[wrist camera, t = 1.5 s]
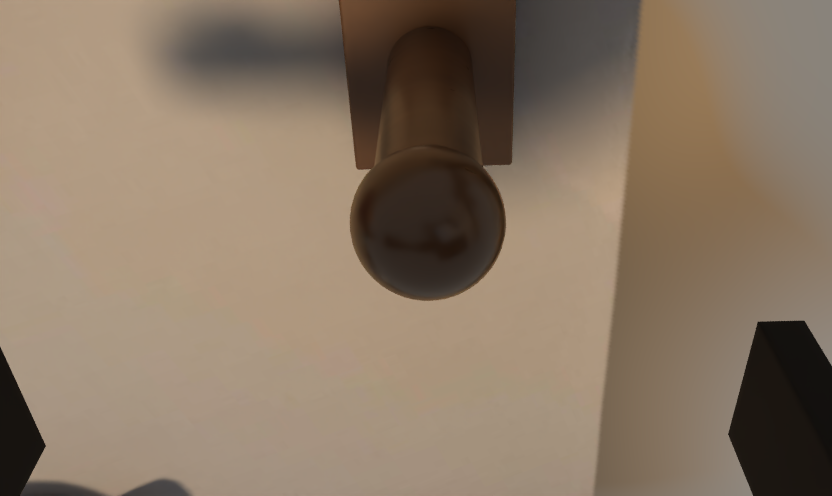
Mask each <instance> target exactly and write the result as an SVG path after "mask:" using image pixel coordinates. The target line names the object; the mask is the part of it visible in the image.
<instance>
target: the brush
mask: <svg viewBox="0 0 832 496" xmlns="http://www.w3.org/2000/svg"><path fill="white" fill-rule="evenodd" d="M339 6H340V16H341V26H342V35H343V45H344V55H345V64H346V74H347V84H348V93H349V103H350V113H351V122H352V132H353V142H354V151H355V161H356V168H357V169H371V170H370V171H369V172H368V173H367V174H366V176H365V177H364V179H363V180H362V182H361V183H360V185H359V187H358V189H357V191H356V193H355V196H354V200H353V203H352V207H351V213H350V232H351V238H352V243H353V246H354V249H355V252H356V254H357V256H358V258H359V260H360V262H361V264H362V265H363V267H364V268H365V269H366V271H367V272H368V273H369V274H370V275H371V276H372V277H373V279H374V280H375V281H377V282H378V283H379V284H380V285H382V286H383V287H385V288H386V289H388V290H390V291H391V292H393V293H395V294H397V295H400V296H403V297H406V298H410V299H414V300H422V301H433V300H441V299H446V298H450V297H453V296H456V295H458V294H460V293H462V292H464V291H466V290H468V289H470V288H471V287H473V286H474V285H475V284H477V283H478V282H479V281H480V280H481V279H482V278H483V277H484V276H485V275H486V274H487V273H488V272H489V270H490V269H491V268H492V266H493V265H494V263H495V261H496V260H497V258H498V256H499V253H500V251H501V249H502V245H503V241H504V237H505V230H506V216H505V208H504V204H503V200H502V197H501V194H500V192H499V189H498V188H497V186H496V184H495V182H494V181H493V179H492V177H491V176H490V175H489V173H488V172H487V171H486V170H485V169H484V168H483V165H509V164H511V163H512V141H513V100H514V60H515V20H516V0H339Z"/></svg>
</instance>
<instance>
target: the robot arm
mask: <svg viewBox="0 0 832 496" xmlns="http://www.w3.org/2000/svg"><path fill="white" fill-rule="evenodd" d="M728 435H729V437H730V440H731V442H732V445H733V447H734V449H735V452H736V455H737V457H738V459H739V462H740V464H741V467H742V469H743V472H744V474H745V477H746V479H747V482H748V484H749V486H750V489H751V491H752V494H753V496H832V366H831V364H830V362H829V361H828V359H827V357H826V356H825V354H824V353H823V351H822V349H821V348H820V346H819V344H818V343H817V341H816V339H815V338H814V336H813V334H812V333H811V331H810V329H809V328H808V326H807V324H806V323H805V321H775V322H774V321H772V322H771V321H770V322H758V323H757V327H756V331H755V335H754V339H753V343H752V346H751V350H750V354H749V358H748V361H747V365H746V369H745V373H744V377H743V380H742V384H741V388H740V392H739V395H738V399H737V403H736V407H735V411H734V414H733V418H732V422H731V426H730V430H729V433H728ZM45 447H46V445H45V443H44V441H43V439H42V437H41V434H40V432H39V430H38V428H37V426H36V424H35V421H34V419H33V417H32V415H31V413H30V411H29V408H28V406H27V404H26V402H25V400H24V397H23V395H22V393H21V391H20V389H19V387H18V384H17V382H16V380H15V378H14V376H13V374H12V371H11V369H10V367H9V365H8V363H7V361H6V358H5V356H4V354H3V352H2V350H1V347H0V496H20V494H21V492H22V490H23V489H24V487H25V485H26V483H27V481H28V479H29V477H30V475H31V473H32V471H33V469H34V468H35V466H36V464H37V462H38V460H39V458H40V456H41V454H42V452H43V450H44V448H45Z"/></svg>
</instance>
